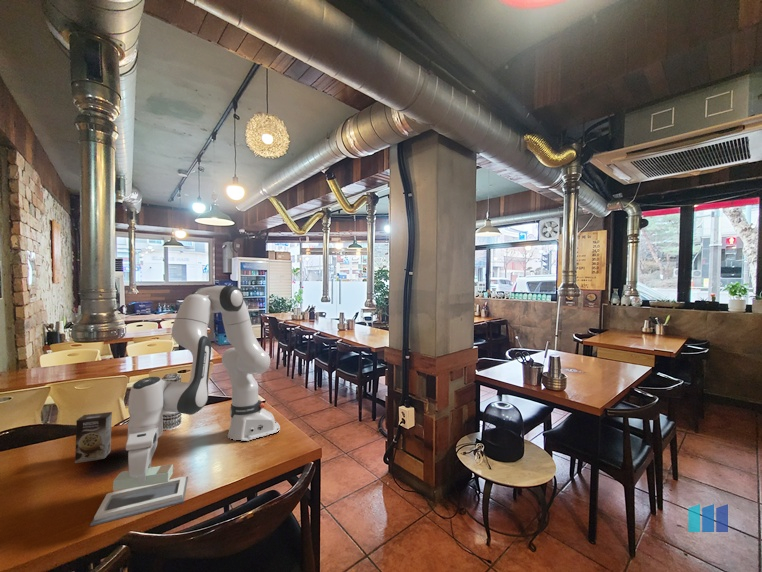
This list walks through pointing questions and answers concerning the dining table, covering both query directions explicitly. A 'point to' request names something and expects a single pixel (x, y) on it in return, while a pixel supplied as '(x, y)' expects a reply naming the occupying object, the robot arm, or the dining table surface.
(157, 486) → the picture frame
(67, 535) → the dining table surface
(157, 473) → the pale green rectangular block
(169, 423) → the decorative candle
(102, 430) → the coffee box
